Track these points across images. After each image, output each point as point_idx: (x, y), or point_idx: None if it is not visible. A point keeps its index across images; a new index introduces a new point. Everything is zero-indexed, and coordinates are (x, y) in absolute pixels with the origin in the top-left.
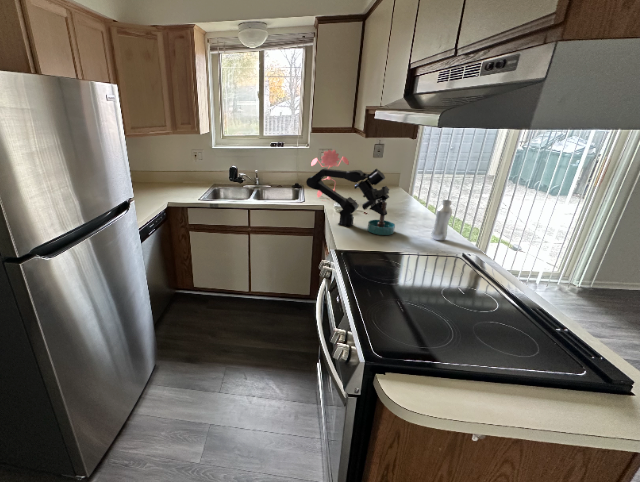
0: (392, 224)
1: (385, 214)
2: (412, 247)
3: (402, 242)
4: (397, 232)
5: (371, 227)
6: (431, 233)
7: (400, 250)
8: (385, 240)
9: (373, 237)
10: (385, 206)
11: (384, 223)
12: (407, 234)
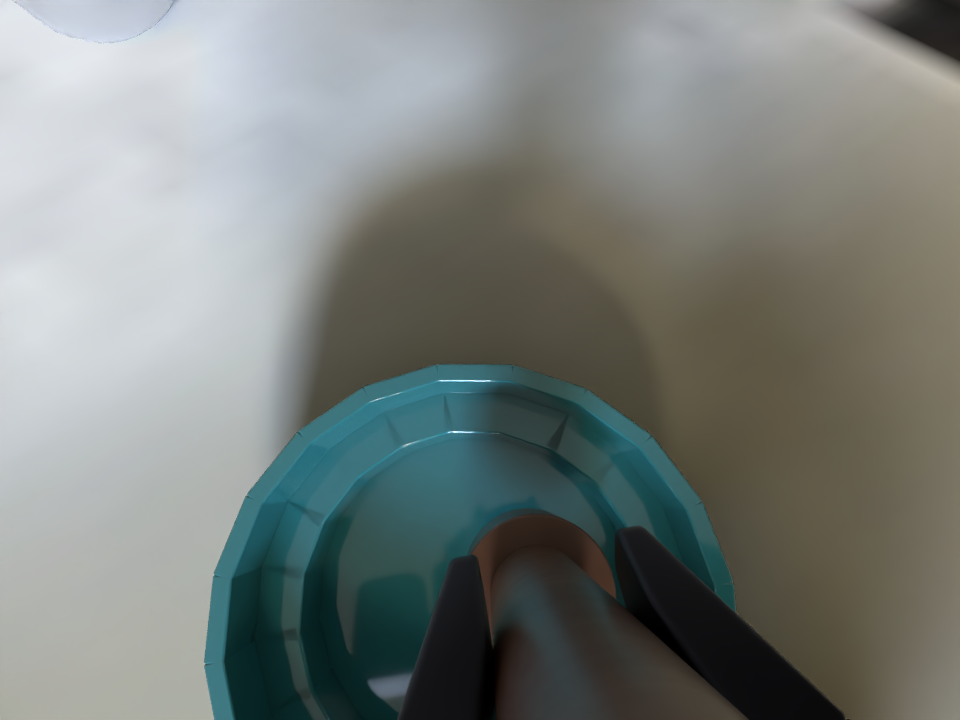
0: (277, 493)
1: (484, 595)
2: (614, 19)
3: (577, 158)
4: (286, 409)
5: None
6: (114, 2)
7: (815, 40)
8: (716, 313)
9: (778, 481)
10: (692, 679)
11: (522, 520)
12: (249, 283)
